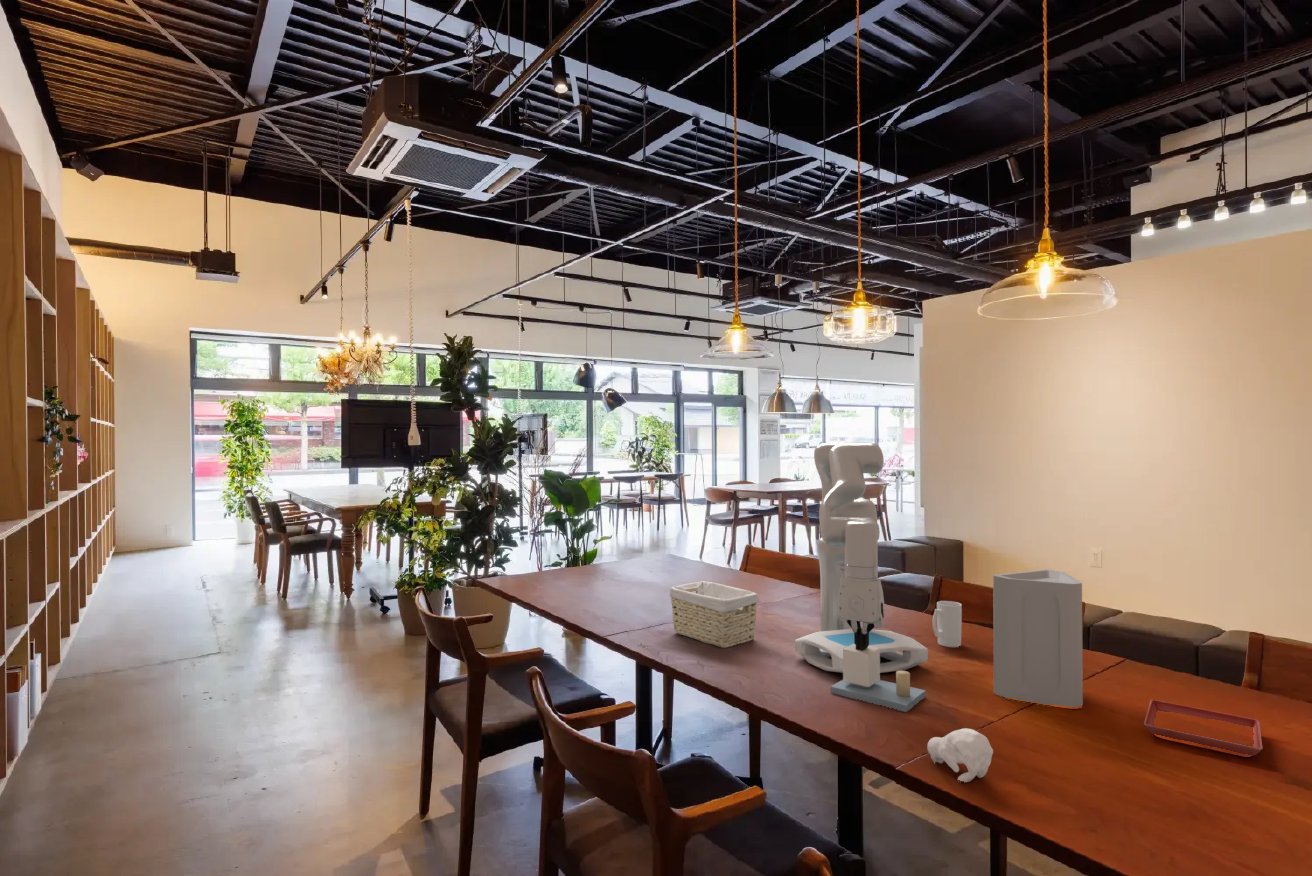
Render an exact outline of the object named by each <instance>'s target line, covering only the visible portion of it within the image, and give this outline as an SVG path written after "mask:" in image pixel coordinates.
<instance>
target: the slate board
mask: <svg viewBox="0 0 1312 876" xmlns="http://www.w3.org/2000/svg"><path fill="white" fill-rule="evenodd" d="M895 678H896V679H895V682H891V681H886V680H883V679H880V680H879V681H877V682H876V683H874V684H873V685H871V686H870V687H867V688H862V687H858V686H854V685H851V683H850V682H846V681H843V679H841V680H840V681H838V682H836V683H835V684H832V685H831V686H830V693H831V694H834V695H838V696H842V697H846V698H850V699H853V698H856V699H855V700H857V699H859V700H858V701H861V700H863V701H862V702H865V701H866V702H865V703H868V704H872V703H873V704H874V705H876V706H880V705H882V706H881V707H884V706H886V707H885V708H888V707H889V709H892V708H894V709H893V710H896V709H897V710H896V711H900V712H905V713H907V712H908V711H911V709H912V708H914V707H915V706H916V705H917V704H918V703H920V702H921V701H922V700H924V698H926V697H927V695H926V694H927V693H926V690H925V689H921V688H917V687H913V686H911V673H910V672H909V671H906V670H898V671H895ZM921 699H922V700H921ZM920 700H921V701H920ZM919 701H920V702H919ZM914 705H915V706H914Z"/></svg>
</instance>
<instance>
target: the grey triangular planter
mask: <svg viewBox="0 0 1312 876" xmlns="http://www.w3.org/2000/svg"><path fill="white" fill-rule="evenodd" d="M992 576H993V577H992V578H993V580H992V582H993V584H992V585H993V589H992V590H993V591H992V592H993V594H992V596H993V598H992V599H993V600H992V601H993V605H992V606H993V607H992V608H993V611H992V612H993V613H992V614H993V616H992V617H993V694H994V693H996V694H998V695H1000V696H999V697H1001V696H1003V697H1005V698H1004V699H1006V698H1012V699H1017V700H1023V701H1028V702H1034V703H1041V704H1047V705H1060V706H1067V707H1075V708H1076V707H1079V706H1082V705H1084V703H1083V702H1084V699H1083V698H1084V695H1083V694H1084V692H1083V689H1084V687H1083V681H1084V677H1083V670H1084V669H1083V582H1082V581H1080V580H1078V579H1076V578H1075V577H1073V576H1072V575H1070V574H1069V573H1067V572H1064V571H1059V570H1055V569H1054V570H1053V569H1035V570H1028V571H1027V570H1026V571H1017V572H1009V573H1001V574H1000V573H999V574H993V575H992ZM996 694H995V695H996ZM998 695H997V696H998ZM1003 697H1002V698H1003Z"/></svg>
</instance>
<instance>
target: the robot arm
mask: <svg viewBox="0 0 1312 876" xmlns="http://www.w3.org/2000/svg"><path fill="white" fill-rule="evenodd" d="M813 454H814V455H813V459H814V464H815V467H816V471H817V473H818V475H819V478H820V482H821V502H820V505H819V509H818V510H819V511H818V518H819V520H818V521H819V529H820V536H821V537H820V538H819V539H818V541H817V546H816V548H817V550H816V551H817V557H818V563H819V564H818V565H819V573H820V576H819V577H820V581H819V582H820V630H818V631H817V632H823V631H833V630H844V629H852V631H853V632H854V644H855V645H856V650H859V649H860V650H861V651H863V650H865V649H867V647H868V646H869V632H870V631H871V630H874V629H881V628H883V627H885V622H884V619H885V599H884V591H883V586H882V585H883V584H882V582H881V578H879V576H878V575H879V571H878V570H879V568H878V567H879V565H878V564H879V563H878V562H879V561H878V559H879V558H878V543H879V542H878V541H879V539H880V532H881V531H880V525H879V523H878V513H877V512H878V511H877V508H876V505H875V503H874V502H873V501H872V500H870V499H868V498H861V497H862V496H863V495H864V494H865V492H866V490H867V487H866V482H865V477H864V474H879V473H880V472H882V470H883V468H884V463H885V461H884V459H885V458H884V454H883V450H882V448H881V447H880V446H879V445H878V444H877V443H873V442H847V441H845V442H840V441H838V442H823V443H820V444H818V445H817V446H816V447H815V448H814V453H813Z"/></svg>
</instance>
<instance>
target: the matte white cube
mask: <svg viewBox="0 0 1312 876" xmlns="http://www.w3.org/2000/svg"><path fill="white" fill-rule="evenodd" d="M880 663H881V656H880V648H876V647H871V646H868V647H867V649H865V650H863V651H861V650H860V649H859V650H856V645H855V644H852V645H850V646H848V647H846V648H844V649H843V673H842V680H843V681H846V682H850V683H854V684H858V685H862V686H866V687H870V686H871V685H873V684H874V683H876V682H877V681H879V680H881V673H880Z"/></svg>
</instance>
